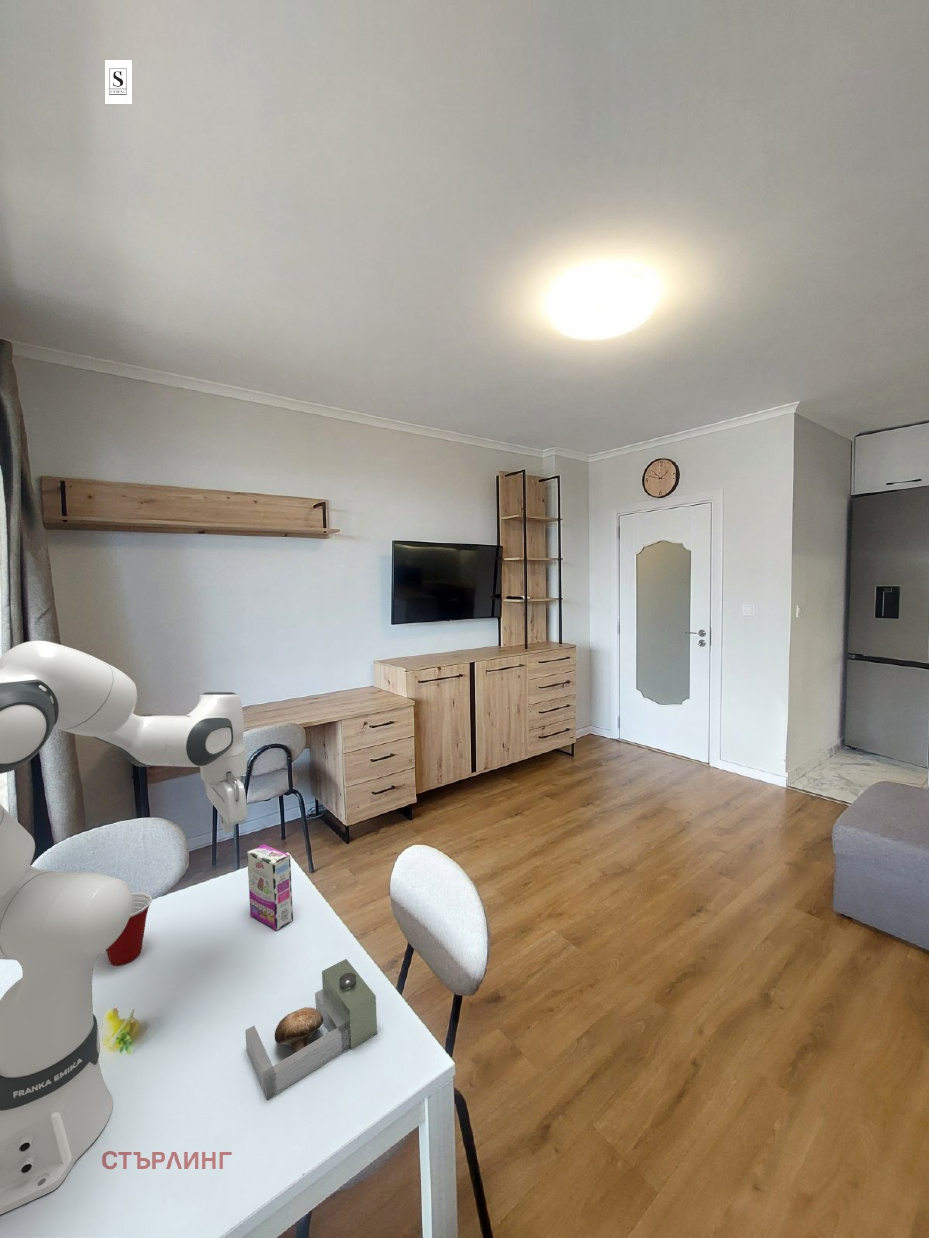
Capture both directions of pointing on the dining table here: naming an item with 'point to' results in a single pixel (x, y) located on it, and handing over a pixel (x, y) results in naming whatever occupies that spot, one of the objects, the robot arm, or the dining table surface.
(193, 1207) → the dining table surface
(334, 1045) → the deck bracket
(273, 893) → the candy bar box
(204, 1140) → the dining table surface
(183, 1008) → the dining table surface
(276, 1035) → the mushroom
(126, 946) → the plastic cup
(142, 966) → the dining table surface
